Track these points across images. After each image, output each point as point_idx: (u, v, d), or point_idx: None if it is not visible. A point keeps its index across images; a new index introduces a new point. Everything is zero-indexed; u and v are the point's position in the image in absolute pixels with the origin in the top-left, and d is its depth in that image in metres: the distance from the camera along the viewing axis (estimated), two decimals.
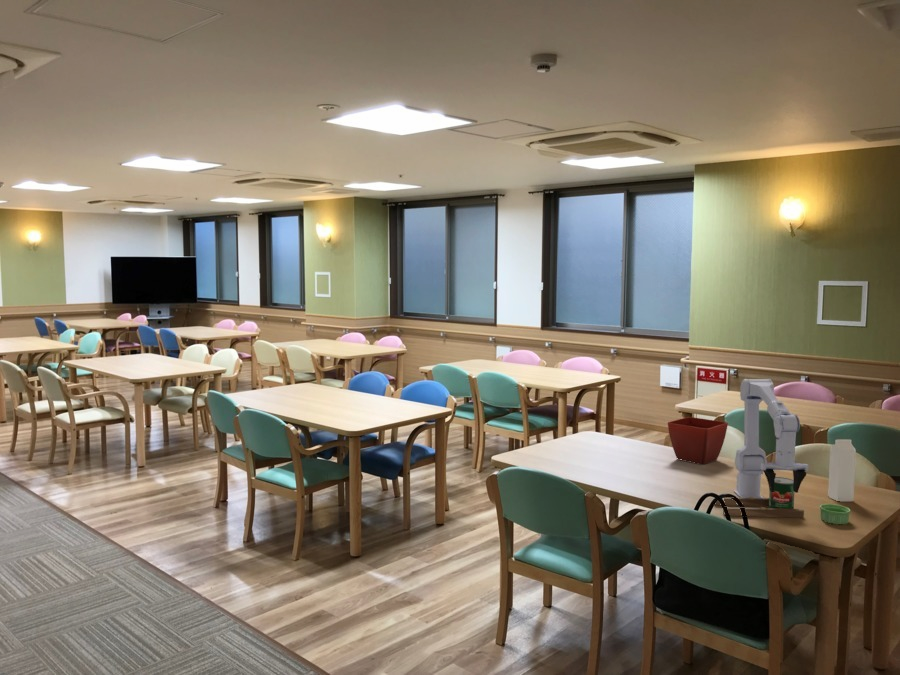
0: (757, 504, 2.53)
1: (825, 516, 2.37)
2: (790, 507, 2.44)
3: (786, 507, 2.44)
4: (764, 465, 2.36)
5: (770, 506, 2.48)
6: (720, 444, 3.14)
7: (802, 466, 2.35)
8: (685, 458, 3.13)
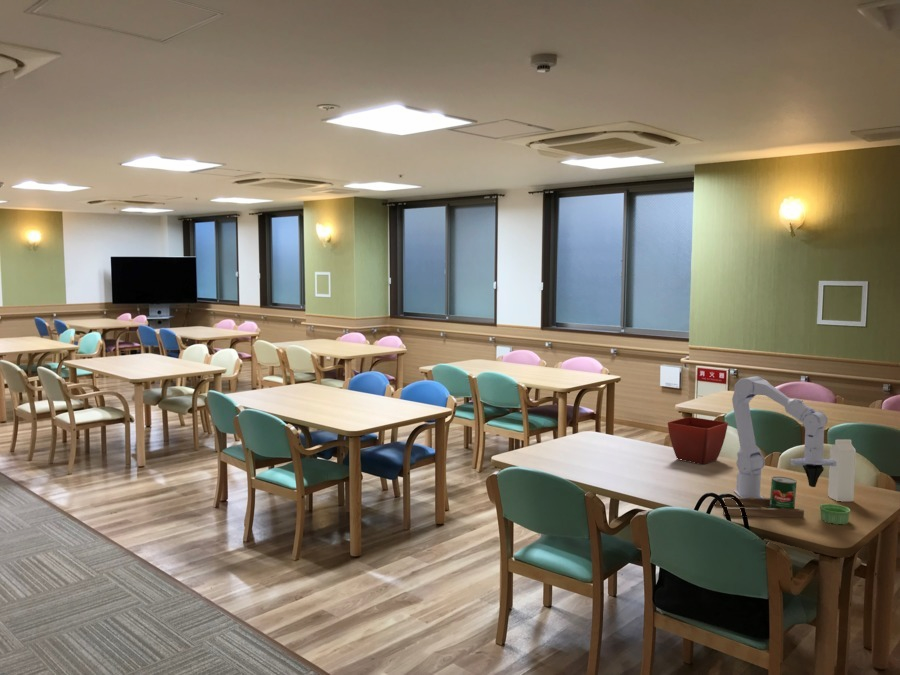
0: (757, 504, 2.53)
1: (825, 516, 2.37)
2: (791, 506, 2.44)
3: (787, 506, 2.44)
4: (794, 461, 2.45)
5: (771, 505, 2.48)
6: (720, 444, 3.14)
7: (830, 462, 2.44)
8: (685, 458, 3.13)
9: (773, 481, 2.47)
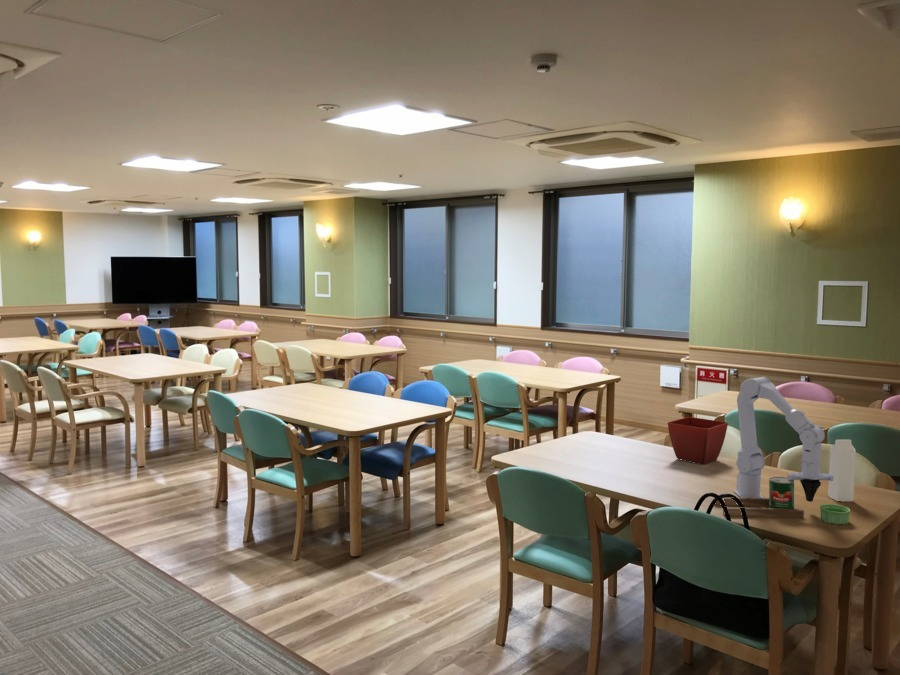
0: (757, 504, 2.53)
1: (825, 516, 2.37)
2: (790, 506, 2.44)
3: (786, 506, 2.44)
4: (791, 475, 2.46)
5: (770, 506, 2.48)
6: (720, 444, 3.14)
7: (827, 476, 2.45)
8: (685, 458, 3.13)
9: (770, 482, 2.47)
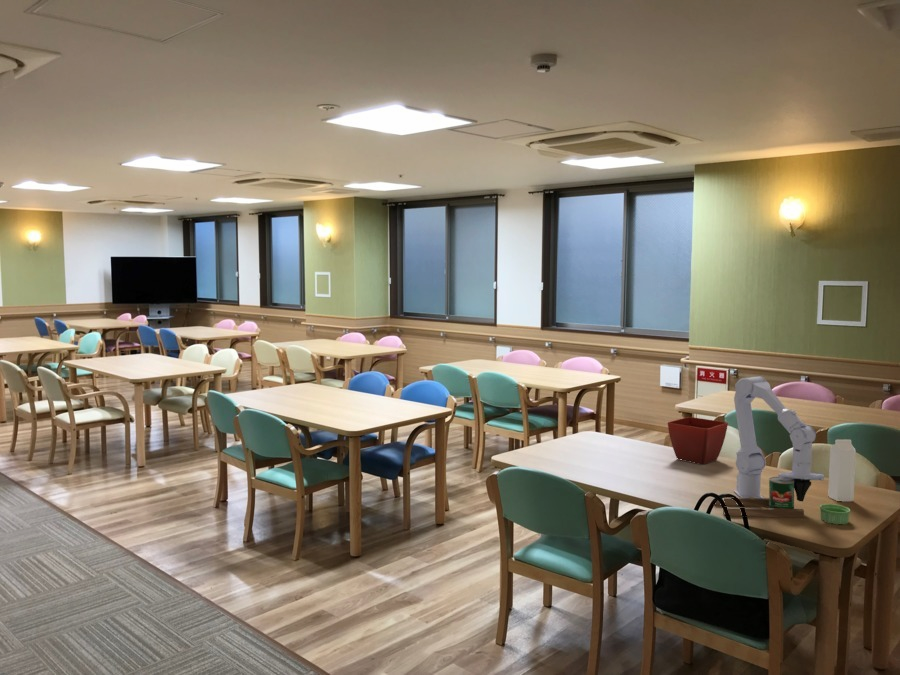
0: (757, 504, 2.53)
1: (825, 516, 2.37)
2: (790, 506, 2.44)
3: (786, 507, 2.44)
4: (781, 475, 2.46)
5: (770, 506, 2.48)
6: (720, 444, 3.14)
7: (818, 476, 2.45)
8: (685, 458, 3.13)
9: (770, 482, 2.47)
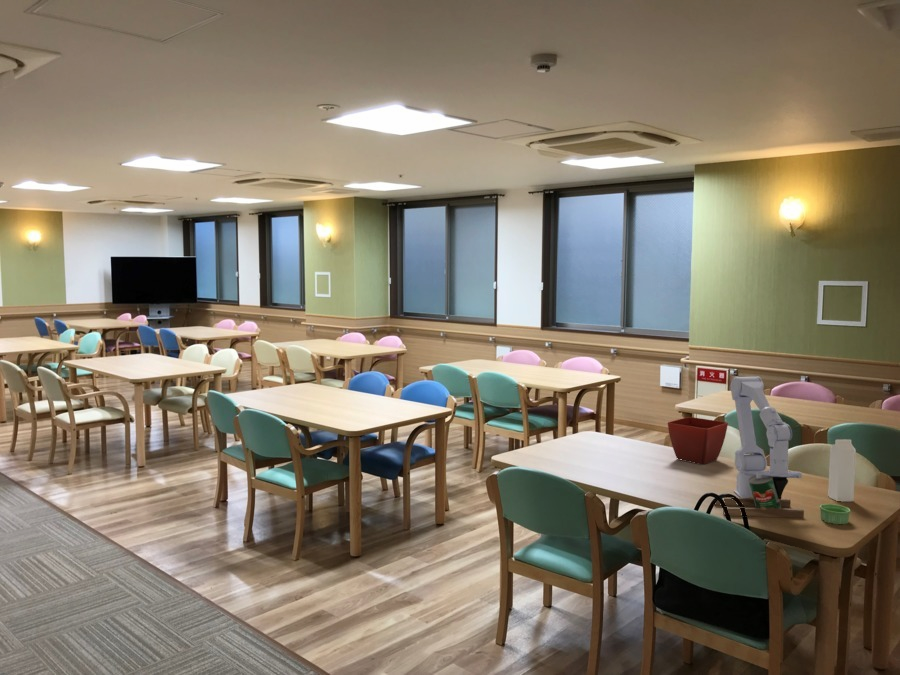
0: None
1: (825, 516, 2.37)
2: (774, 503, 2.44)
3: (770, 505, 2.44)
4: (759, 473, 2.46)
5: (756, 506, 2.48)
6: (720, 444, 3.14)
7: (795, 474, 2.45)
8: (685, 458, 3.13)
9: (750, 484, 2.47)
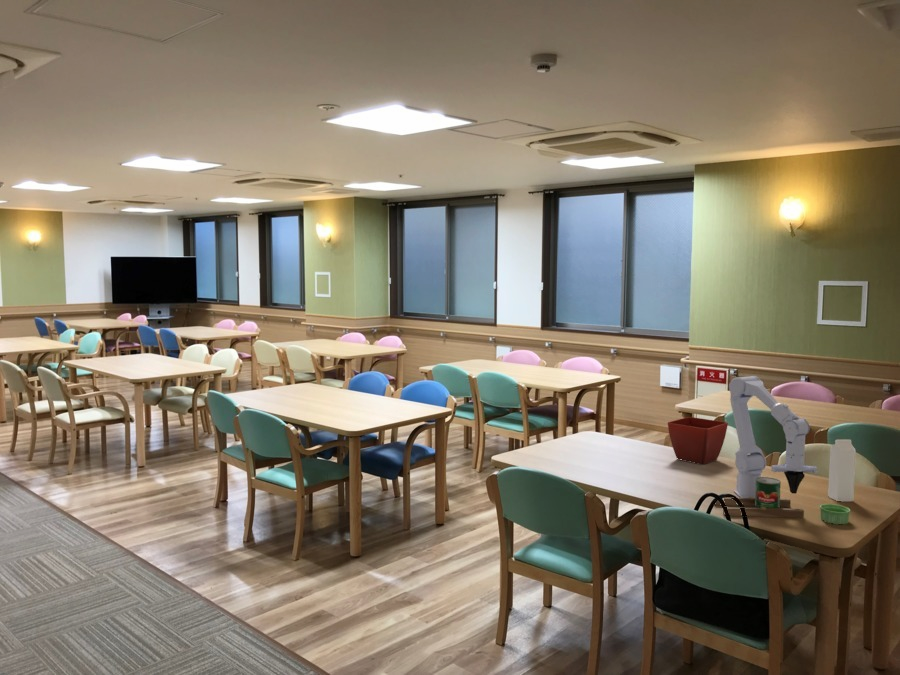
0: None
1: (825, 516, 2.37)
2: (775, 507, 2.44)
3: (771, 507, 2.44)
4: (775, 467, 2.46)
5: (756, 506, 2.48)
6: (720, 444, 3.14)
7: (811, 468, 2.45)
8: (685, 458, 3.13)
9: (757, 482, 2.47)
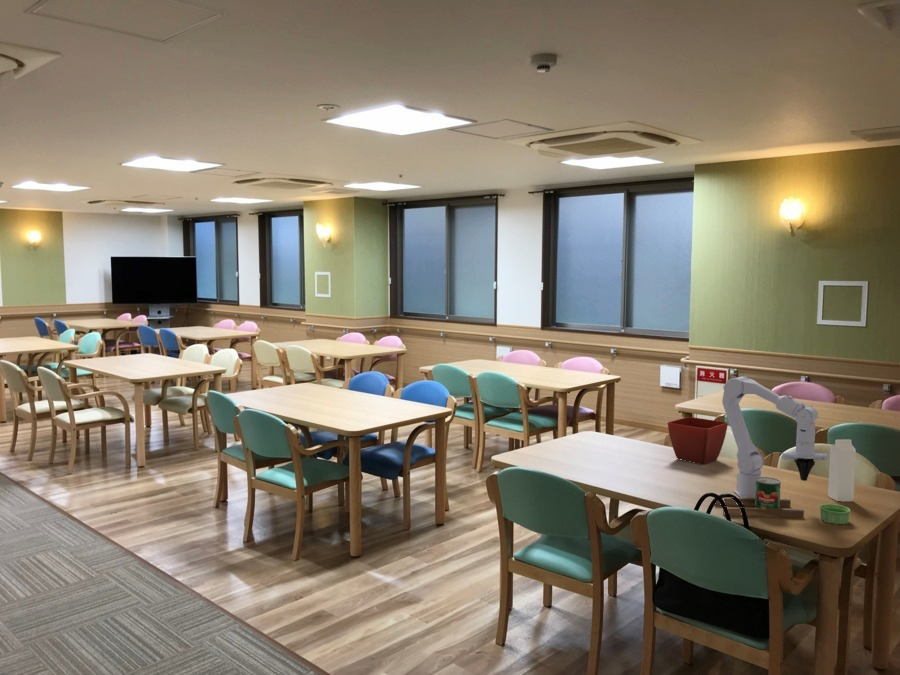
0: None
1: (825, 516, 2.37)
2: (775, 507, 2.44)
3: (771, 507, 2.44)
4: (785, 455, 2.50)
5: (756, 506, 2.48)
6: (720, 444, 3.14)
7: (821, 456, 2.49)
8: (685, 458, 3.13)
9: (757, 482, 2.47)
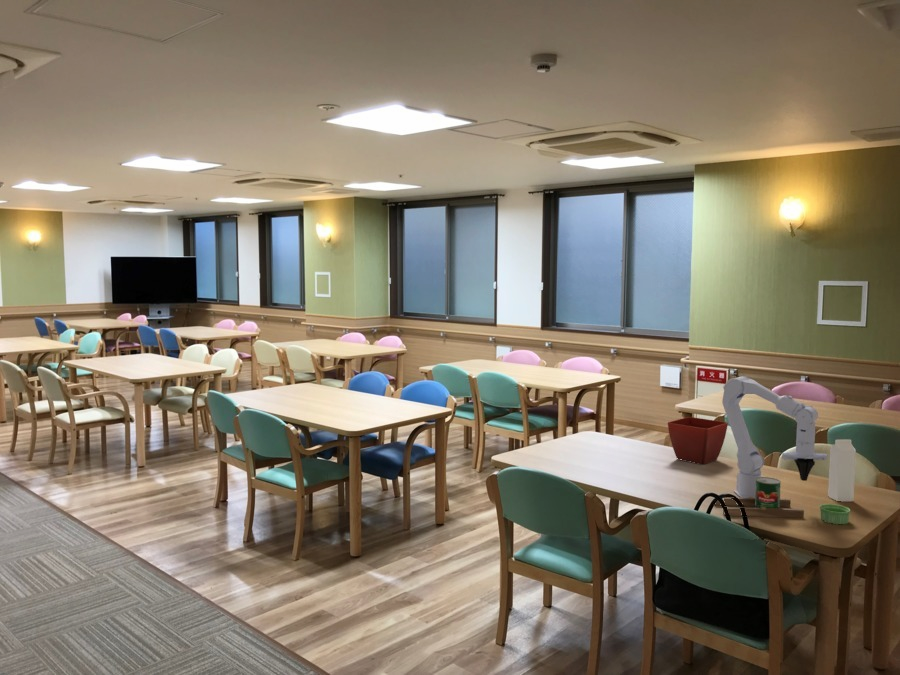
0: None
1: (825, 516, 2.37)
2: (775, 507, 2.44)
3: (771, 507, 2.44)
4: (785, 455, 2.50)
5: (756, 506, 2.48)
6: (720, 444, 3.14)
7: (821, 456, 2.49)
8: (685, 458, 3.13)
9: (757, 482, 2.47)
